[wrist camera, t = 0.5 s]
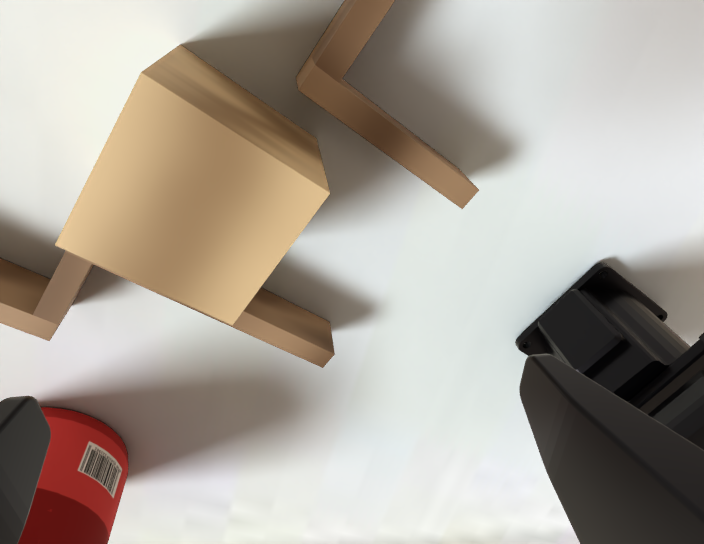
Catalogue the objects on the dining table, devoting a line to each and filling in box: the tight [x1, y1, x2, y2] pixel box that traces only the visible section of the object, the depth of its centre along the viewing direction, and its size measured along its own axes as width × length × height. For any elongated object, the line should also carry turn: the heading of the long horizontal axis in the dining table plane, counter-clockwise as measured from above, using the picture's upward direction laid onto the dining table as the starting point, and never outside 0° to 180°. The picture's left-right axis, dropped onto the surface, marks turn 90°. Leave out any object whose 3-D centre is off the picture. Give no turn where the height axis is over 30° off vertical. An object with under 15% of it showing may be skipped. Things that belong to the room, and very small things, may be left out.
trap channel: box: [0, 0, 479, 368], centre depth 16 cm, size 28×20×2 cm
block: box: [55, 45, 330, 325], centre depth 17 cm, size 6×6×6 cm
